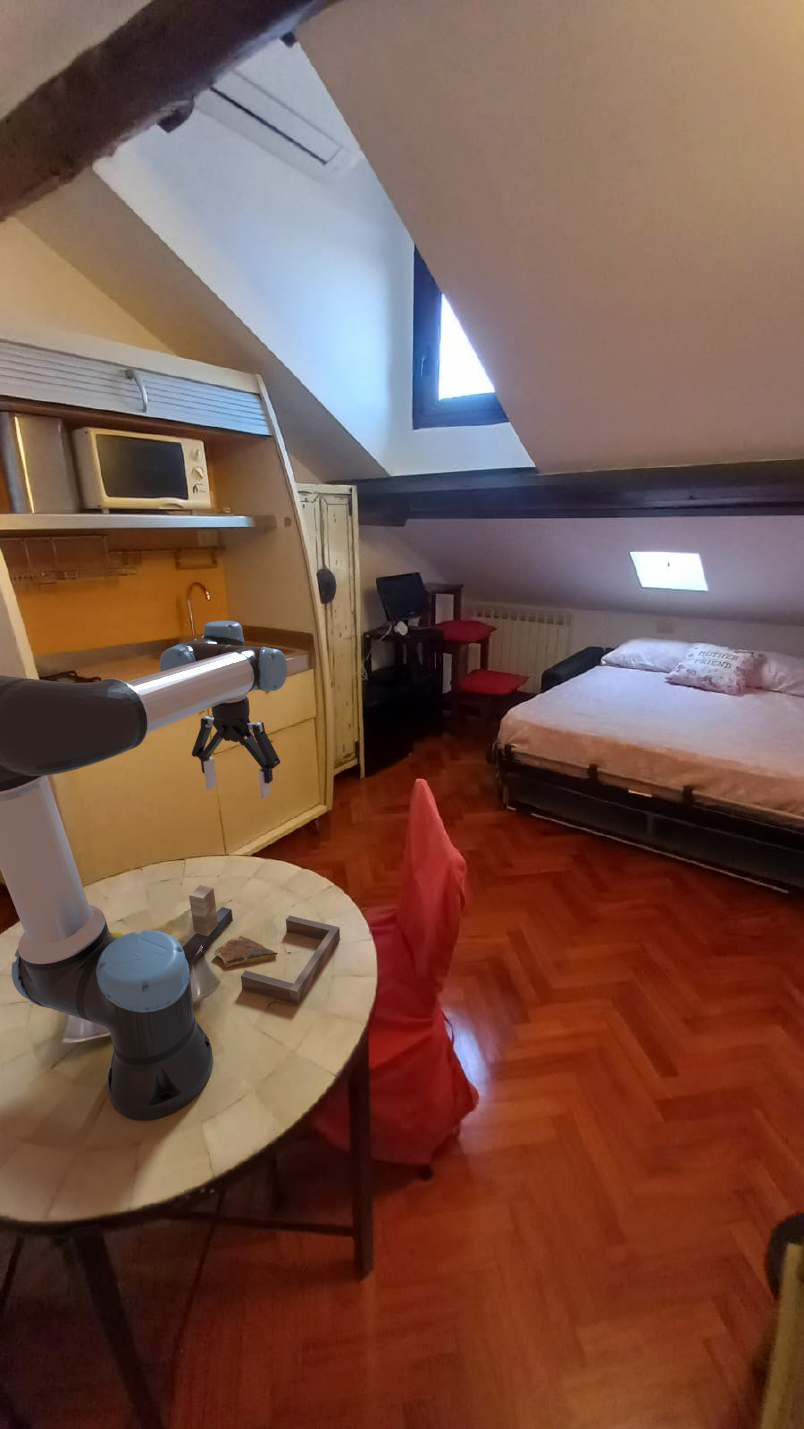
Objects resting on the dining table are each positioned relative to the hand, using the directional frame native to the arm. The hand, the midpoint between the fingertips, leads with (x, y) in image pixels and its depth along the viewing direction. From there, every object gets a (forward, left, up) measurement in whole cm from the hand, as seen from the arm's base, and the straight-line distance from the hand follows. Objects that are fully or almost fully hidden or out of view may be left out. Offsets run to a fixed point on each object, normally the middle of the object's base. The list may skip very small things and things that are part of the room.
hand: (238, 791), depth 129 cm
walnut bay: (-17, -21, -26) cm, 37 cm away
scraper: (-17, -1, -26) cm, 31 cm away
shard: (-17, -10, -26) cm, 33 cm away
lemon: (-29, +11, -26) cm, 40 cm away
